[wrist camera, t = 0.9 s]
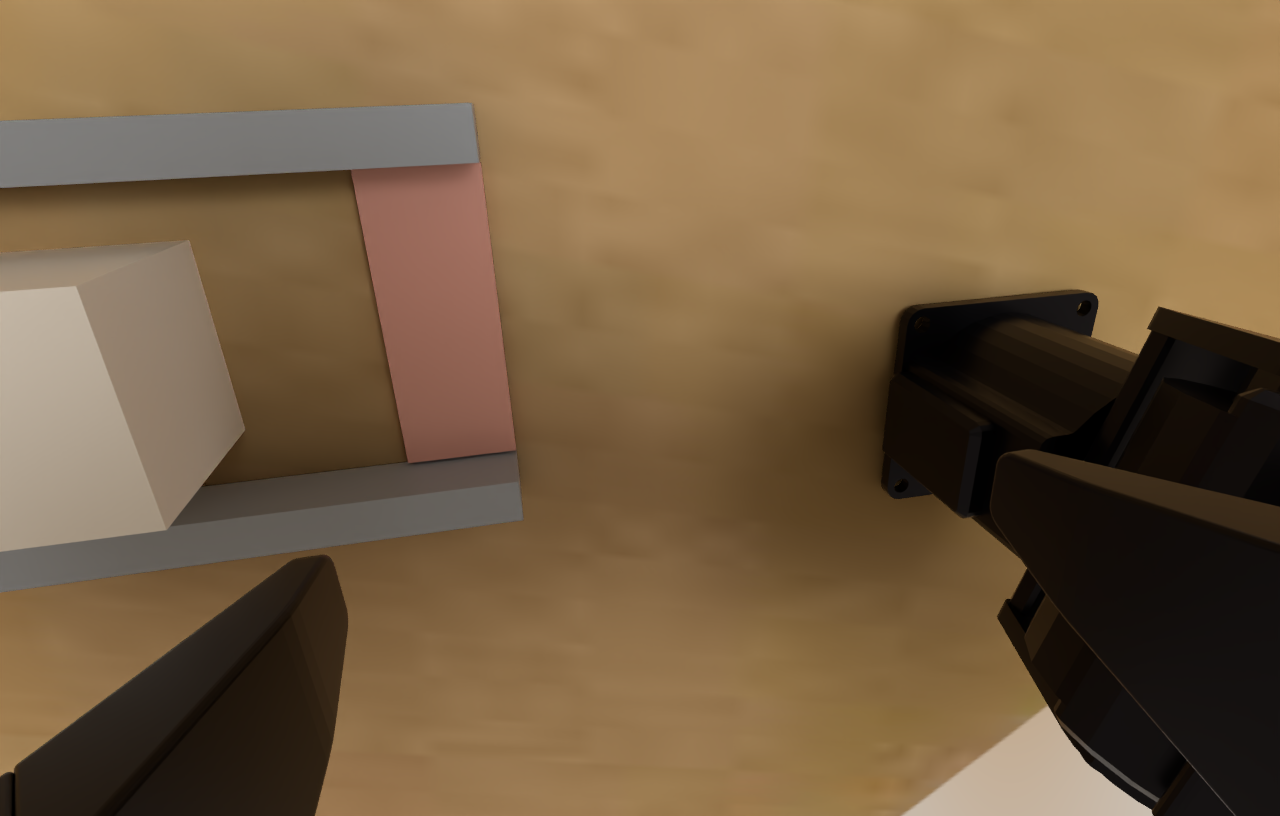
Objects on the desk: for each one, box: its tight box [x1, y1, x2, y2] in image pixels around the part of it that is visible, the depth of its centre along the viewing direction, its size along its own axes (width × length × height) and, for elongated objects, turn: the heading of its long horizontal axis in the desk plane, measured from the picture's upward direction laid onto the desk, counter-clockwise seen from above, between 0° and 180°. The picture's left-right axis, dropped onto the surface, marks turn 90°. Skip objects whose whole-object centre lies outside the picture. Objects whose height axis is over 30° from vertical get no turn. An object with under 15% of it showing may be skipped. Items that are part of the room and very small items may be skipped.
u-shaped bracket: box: [0, 103, 523, 592], centre depth 16 cm, size 14×10×2 cm
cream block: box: [0, 240, 245, 552], centre depth 15 cm, size 5×5×5 cm
